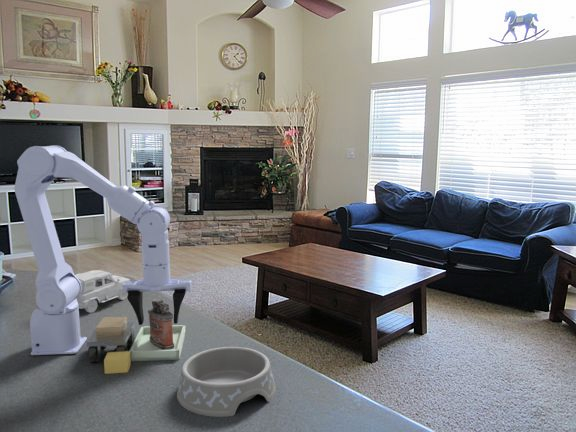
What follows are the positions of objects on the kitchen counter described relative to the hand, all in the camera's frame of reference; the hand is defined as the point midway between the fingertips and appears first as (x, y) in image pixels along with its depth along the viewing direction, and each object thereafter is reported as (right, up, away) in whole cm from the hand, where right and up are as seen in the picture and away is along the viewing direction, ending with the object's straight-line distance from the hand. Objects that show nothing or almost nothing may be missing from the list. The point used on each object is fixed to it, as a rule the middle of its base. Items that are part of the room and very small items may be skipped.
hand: (158, 322), depth 110 cm
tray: (0, -5, +1) cm, 6 cm away
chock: (-6, -7, -10) cm, 13 cm away
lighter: (+1, -5, +1) cm, 5 cm away
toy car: (-24, -1, +28) cm, 37 cm away
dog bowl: (+17, -9, -18) cm, 26 cm away
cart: (-9, -6, -3) cm, 11 cm away
